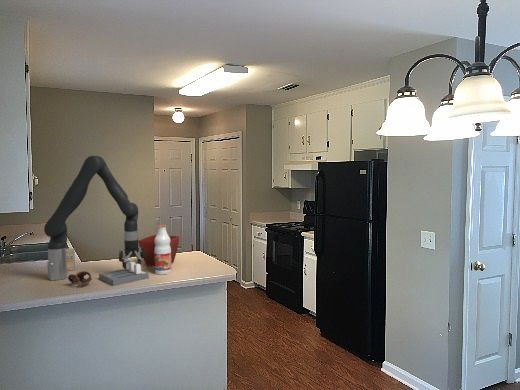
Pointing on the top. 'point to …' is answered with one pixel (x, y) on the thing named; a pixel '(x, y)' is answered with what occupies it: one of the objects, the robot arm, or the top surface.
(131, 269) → the breaker
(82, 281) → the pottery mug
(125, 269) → the block
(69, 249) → the supplement box
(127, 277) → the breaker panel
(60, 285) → the top surface
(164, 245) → the fruit juice
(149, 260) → the plant pot
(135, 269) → the breaker near
